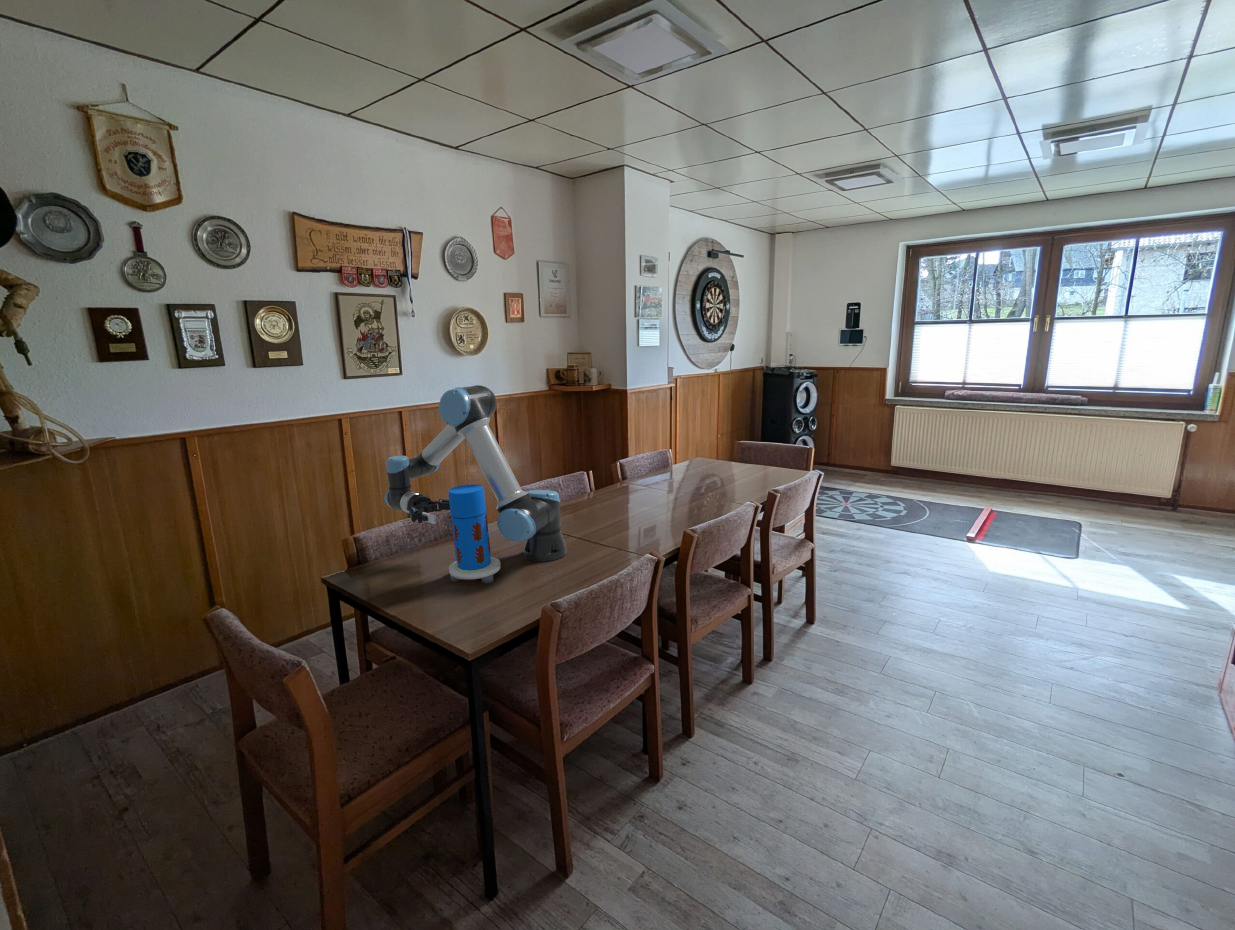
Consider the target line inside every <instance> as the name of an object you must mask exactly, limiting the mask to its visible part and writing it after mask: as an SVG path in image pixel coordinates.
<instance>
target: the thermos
mask: <svg viewBox="0 0 1235 930" xmlns="http://www.w3.org/2000/svg"><path fill="white" fill-rule="evenodd" d="M484 489H485V488H484V486H483V485H481V484H474V483H473V484H462V485H458V486H454V487H452V488H450V489H449V490H448V500H449V504H450V510H449V511H450V518H451V525H452V527H451V528H452V535H453V536H452V537H453V543H454V551H455V553H454V554H455V559H456V560H455V561H457V565H458V568H459V569H462V570H477V569H481V568H484V567H486V566H488V565H489V564H490V563H491V557H492V555H491V544H490V536H489V535H490V534H489V526H488V525H489V523H488V515H487V505H486V496H485V495H486V494H485V490H484Z"/></svg>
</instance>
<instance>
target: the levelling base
mask: <svg viewBox="0 0 1235 930" xmlns="http://www.w3.org/2000/svg"><path fill="white" fill-rule="evenodd" d="M500 569H501V561H500V559H498V558H497V557H494V556H491V563H490V564H489V565H488V566H486V567H484V568H481V569H477V570H462V569H459V568H458V565H457V560H455V561H453V562H451V564H450V565H449V567H448V570H449V575H450V576H449V577H450V581H451V582H453V583H457V582H461V581H462V580H476V579H481V583H482V584H491V583H493V582H494V575H495V574H496V573H498V572H499V571H500Z"/></svg>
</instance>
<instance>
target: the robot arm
mask: <svg viewBox="0 0 1235 930" xmlns="http://www.w3.org/2000/svg"><path fill="white" fill-rule="evenodd" d="M497 402H498V401H497V397H496V395H495V393H494V392H493V391H492V390H491V389H490V388H489V387H487V386H485V385H478V384H475V385H472V386H471V385H470V386H464V387H455V388H452V389H448V390H447V391H445V392H444V393H443V394H442V396H441V397H440V400H439V403H438V413H439V416H440V418H441V420H442V421H443V422H444V424H446V426H445V427H444V428H443V429H442V430H441V432H439V434H437V435H436V436H435V437H434V439H432V440H431V442H430V443H429V444H428V445H426V447H425V448H424V449H423V450H422V451H421V452H420V453H419V454H418V455H417V456H415V457H412V458H409V457H408V456H406V455H394V456H393V455H392V456H390V457H388V458H387V459H386V464H385V465H386V474H387V482H388V489H387V491H386V492H385V494H384V501H385V504H386V505H387V506H388V507H389V508H392V509H393V510H395V511H401V512H404V513H407V514H406V515H407V516H409V517H410V520H411V522H412V523H414V522H416V521H417V523H418V524H422V523H423V522H426V523H428V524H432V525H437V516H436V515H434V514H433V513H434V512H439V513H440V512H442V511H450V504H449V499H444V498H443V499H442V498H440V499H438V500H432V499H431V498H430V497H429V496H427V495H425V494H421V493H417V492H415V491H412V480H414V479H418V478H421V477H424V476H429V475H431V474H433V473H435V472H436V471H438V470H439V467H440V464H441V463H442V461H443V460H444V459H445V458H446V457H448V456H449V454H450V453H451V452H452V451H453V450H455V448H457V447H458V446H459V445H460V444H461V442H462V441H464V440H465V441H466V442H467V444H468V447H469V448H470V450H471V452H472V453H473V456H474V458H475V459H476V462H477V464H478V466H479V467H480V469H481V472H482V474H483V476H484V478H485V479H486V482H487V483H488V486H489V487H490V489H491V491H492V493H493V495H494V497H495V499H496V501H497V505H496V507H495V510H496V511H497V513H498V516H497V522H496V524H497V525H496V526H497V528H498V531H499V532H500V534H501V535H502V536H503V537H504V538H505V539H506V540H508V541H512V542H513V543H514V542H515V543H520V542H521V543H522V542H524V541H525V543H524V546H523V556H524V558H525V559H526V560H529V561H533V562H550V561H555V560H559V559H562V558H564V557H565V556H566V555H567V543H566V542H565V540H564V536H563V534H562V530H561V529H562V528H561V526H562V525H561V500H560V495H559V493H558V491H555V490H549V489H534V490H533V489H532V490H528V491H526V490H523V489H522V487H521V486H520V483H519V481H518V480H517V478H516V476H515V474H514V472H513V470H512V468H511V467H510V464H509V462H508V461H507V458H506V456H505V455H504V453H503V451H502V449H501V447H500V445H499V443H498V441H497V439H496V437H495V435H494V433H493V431H492V429H491V428H490V422H491V421H490V420H491V417H492V416H494V415H493V414H495V412H496V410H497V407H498V405H497ZM430 513H431V514H430Z"/></svg>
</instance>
